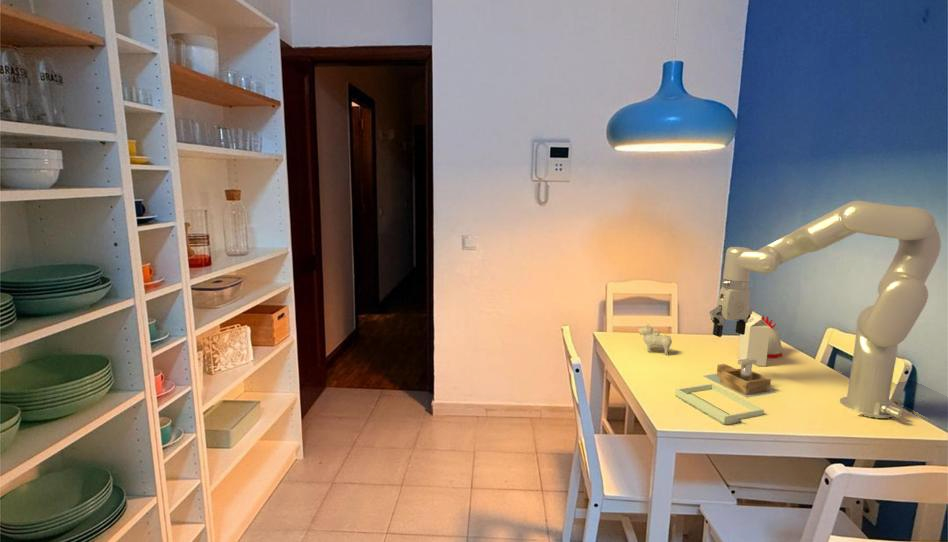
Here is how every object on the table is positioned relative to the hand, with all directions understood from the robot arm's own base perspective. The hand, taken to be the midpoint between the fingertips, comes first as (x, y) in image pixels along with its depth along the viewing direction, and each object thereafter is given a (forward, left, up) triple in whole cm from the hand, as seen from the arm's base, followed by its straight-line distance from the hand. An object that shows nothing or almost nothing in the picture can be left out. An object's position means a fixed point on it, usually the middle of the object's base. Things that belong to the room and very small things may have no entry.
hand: (728, 334), depth 161 cm
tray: (-15, +18, -16) cm, 28 cm away
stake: (-8, 0, -15) cm, 17 cm away
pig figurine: (+31, +4, -17) cm, 35 cm away
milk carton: (+10, -23, -17) cm, 30 cm away
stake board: (-5, 0, -16) cm, 17 cm away
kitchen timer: (+18, -37, -17) cm, 45 cm away
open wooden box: (-5, 0, -15) cm, 16 cm away
